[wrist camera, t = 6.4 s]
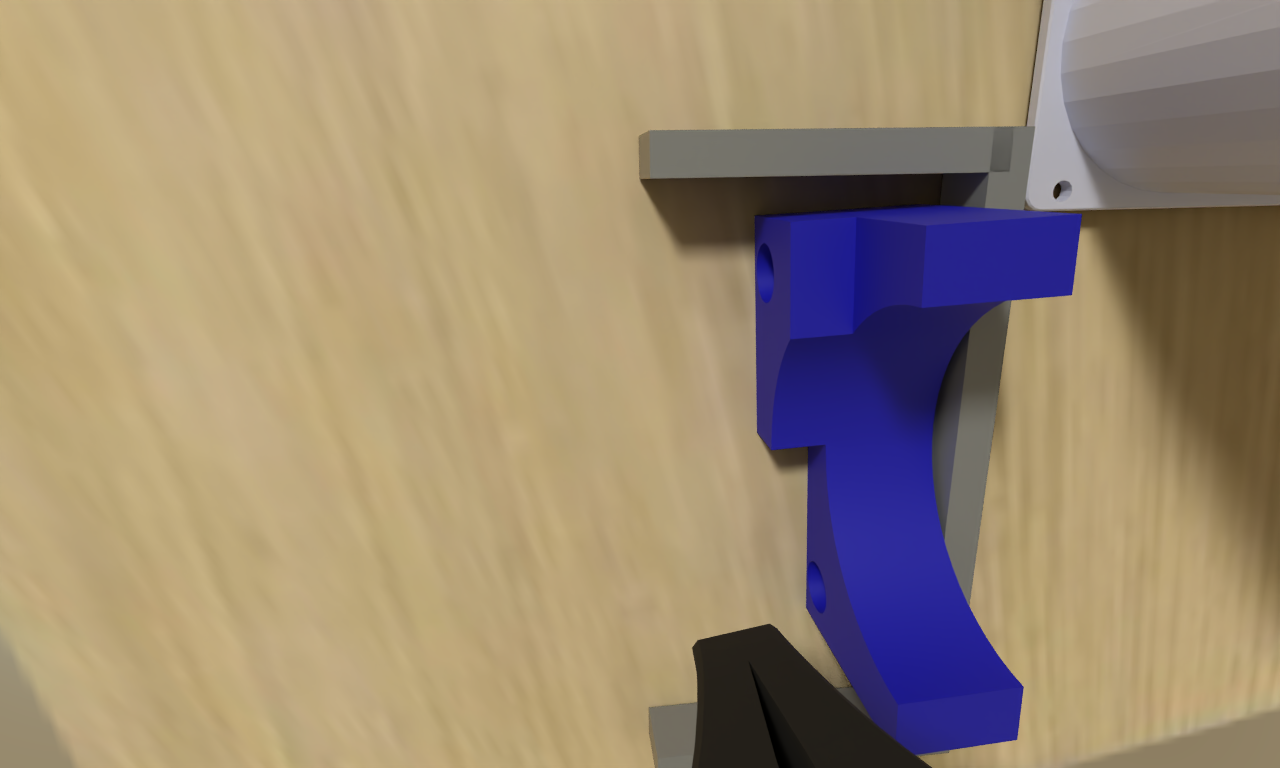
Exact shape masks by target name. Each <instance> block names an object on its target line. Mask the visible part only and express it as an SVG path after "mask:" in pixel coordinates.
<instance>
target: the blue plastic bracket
mask: <svg viewBox="0 0 1280 768" xmlns="http://www.w3.org/2000/svg"><path fill="white" fill-rule="evenodd" d="M1081 217H1082V214H1074V213H1058V212H1042V211H1026V210H1009V209H993V208H977V207H961V206H945V205H929V204H913V205H898V206H884V207H870V208H856V209H841V210H827V211H813V212H799V213H785V214H770V215H756V216H755V296H756V379H757V433H758V434H759V435H760V437H761V438H762V439H763V440H764V442H765V443H766V444H767V445H768V447H769V448H770V449H771V450H778V449H787V448H797V447H807V446H808V499H807V589H806V608H807V610H808V612H809V613H810V615H811V617H812V618H813V620H814V622H815V624H816V625H817V627H818V629H819V630H820V632H821V634H822V635H823V637H824V639H825V641H826V642H827V644H828V646H829V647H830V649H831V651H832V652H833V654H834V656H835V658H836V659H837V661H838V663H839V664H840V666H841V668H842V669H843V671H844V673H845V675H846V676H847V678H848V680H849V681H850V683H851V685H852V686H853V688H854V690H855V692H856V693H857V695H858V697H859V698H860V700H861V702H862V703H863V705H864V707H865V709H866V710H867V712H868V714H869V715H870V717H871V719H872V720H873V722H874V723H875V724H877V725H878V726H879V727H880V728H881V729H883V730H884V731H885V732H886V733H888V734H889V735H890V736H891V737H893V738H894V739H895V740H896V741H898V742H899V743H900V744H901V745H903V746H904V747H905V748H906V749H908V750H909V751H910V752H912V753H913V754H914V755H920V754H926V753H933V752H939V751H946V750H953V749H959V748H966V747H973V746H979V745H986V744H992V743H999V742H1006V741H1012V740H1017V736H1018V728H1019V720H1020V712H1021V704H1022V696H1023V688H1024V687H1023V686H1022V684H1021V683H1020V682H1019V681H1018V680H1017V679H1016V678H1015V676H1014V675H1013V674H1012V673H1011V672H1010V670H1009V669H1008V668H1007V666H1006V665H1005V664H1004V663H1003V661H1002V660H1001V659H1000V657H999V656H998V654H997V653H996V651H995V650H994V648H993V647H992V645H991V644H990V642H989V641H988V639H987V638H986V636H985V634H984V633H983V631H982V629H981V628H980V626H979V624H978V622H977V621H976V619H975V617H974V615H973V613H972V611H971V609H970V607H969V605H968V603H967V601H966V598H965V596H964V594H963V592H962V589H961V587H960V585H959V582H958V580H957V577H956V575H955V572H954V569H953V567H952V564H951V561H950V558H949V554H948V551H947V548H946V545H945V541H944V537H943V534H942V530H941V525H940V520H939V516H938V511H937V505H936V499H935V491H934V482H933V469H932V436H933V423H934V416H935V408H936V403H937V399H938V394H939V390H940V387H941V383H942V380H943V377H944V374H945V371H946V369H947V366H948V364H949V362H950V359H951V357H952V355H953V353H954V351H955V349H956V348H957V346H958V345H959V343H960V341H961V340H962V338H963V337H964V336H965V334H966V333H967V332H968V331H969V329H970V328H971V327H972V326H973V325H974V324H975V323H976V322H977V321H978V320H979V319H980V318H981V317H982V316H983V315H984V314H986V313H987V312H988V311H990V310H991V309H993V308H994V307H996V306H998V305H999V304H1001V303H1003V302H1005V301H1009V300H1021V299H1033V298H1044V297H1056V296H1068V295H1072V290H1073V282H1074V274H1075V266H1076V258H1077V250H1078V242H1079V234H1080V226H1081Z"/></svg>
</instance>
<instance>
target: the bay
mask: <svg viewBox="0 0 1280 768" xmlns="http://www.w3.org/2000/svg"><path fill="white" fill-rule="evenodd" d="M1034 132H1035V126H1018V127H926V128H834V129H742V130H650V131H648V132H646V133H644V134H642V135H640V136H639V175H640V179H663V178H717V177H771V176H825V175H879V174H934V173H943V180H942V189H941V199H940V205H945V206H961V207H977V208H993V209H1009V210H1024V205H1025V198H1026V190H1027V183H1028V176H1029V169H1030V161H1031V154H1032V147H1033V140H1034ZM1010 307H1011V300H1009V301H1005V302H1003V303H1001V304H999V305H998V306H996V307H994V308H993V309H991V310H990V311H988V312H987V313H986V314H984V315H983V316H982V317H981V318H980V319H979V320H978V321H977V322H976V323H975V324H974V325H973V326H972V327H971V328H970V329H969V331H968V332H967V333H966V334H965V336H964V337H963V338H962V340H961V341H960V343H959V345H958V346H957V348H956V349H955V351H954V353H953V355H952V357H951V359H950V362H949V364H948V366H947V369H946V371H945V374H944V377H943V380H942V383H941V387H940V390H939V394H938V399H937V403H936V408H935V416H934V423H933V436H932V469H933V482H934V491H935V499H936V505H937V511H938V516H939V520H940V525H941V530H942V534H943V537H944V541H945V545H946V548H947V551H948V554H949V558H950V561H951V564H952V567H953V569H954V572H955V575H956V577H957V580H958V582H959V585H960V587H961V589H962V592H963V594H964V596H965V598H966V601H967V603H968V605H969V604H970V597H971V590H972V582H973V575H974V568H975V561H976V553H977V546H978V539H979V532H980V524H981V517H982V510H983V503H984V495H985V488H986V481H987V474H988V466H989V459H990V452H991V445H992V437H993V430H994V423H995V416H996V408H997V401H998V394H999V386H1000V379H1001V372H1002V365H1003V357H1004V350H1005V343H1006V336H1007V328H1008V321H1009V314H1010ZM837 690H838V691H839V692H840V693H841V694H842V695H843V696H845V697H846V698H847V699H848V700H849V701H850V702H851V703H852V704H853V705H855V706H856V707H857V708H858V709H859V710H860V711H861V712H862V713H864V714H865V715H866V716H867V717H868V718H869V719H871V717H870V715H869V714H868V712H867V710H866V709H865V707H864V705H863V703H862V702H861V700H860V698H859V697H858V695H857V693H856V692H855V690H854V688H853V687H847V688H837ZM696 719H697V703H690V704H680V705H671V706H661V707H651V708H649V735H650V741H651V747H652V753H653V759H654V765H655V768H692V762H693V755H694V747H695V735H696ZM871 720H872V719H871ZM872 721H873V720H872ZM941 753H949V750H946V751H939V752H933V753H926V754H920V755H916V756H924V755H933V754H941Z"/></svg>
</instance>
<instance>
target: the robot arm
mask: <svg viewBox="0 0 1280 768" xmlns="http://www.w3.org/2000/svg"><path fill="white" fill-rule="evenodd" d="M1027 126H1035V132H1034V140H1033V147H1032V154H1031V161H1030V169H1029V176H1028V183H1027V190H1026V198H1025V205H1024V208H1025V209H1026V210H1031V211H1073V210H1112V209H1152V208H1192V207H1231V206H1271V205H1280V0H1044V2H1043V9H1042V17H1041V24H1040V32H1039V39H1038V47H1037V54H1036V61H1035V69H1034V76H1033V84H1032V91H1031V99H1030V106H1029V113H1028V121H1027ZM1058 182H1059V184H1060V185H1061V193H1060V195H1059V197H1058V198H1057V199H1055V198H1054V197H1053V190H1054V187H1055V185H1056V184H1057V183H1058ZM692 649H693V655H694V660H695V665H696V671H697V719H696V735H695V747H694V755H693V762H692V768H932V767H931V766H929V765H928V764H926V763H925V762H924V761H922V760H921V759H920V758H918V757H917V756H916V755H914V754H913V753H912V752H910V751H909V750H908V749H906V748H905V747H904V746H903V745H901V744H900V743H899V742H898V741H896V740H895V739H894V738H893V737H891V736H890V735H889V734H888V733H886V732H885V731H884V730H883V729H881V728H880V727H879V726H878V725H877V724H875V723H874V722H873V721H872V720H871V719H869V718H868V717H867V716H866V715H865V714H864V713H862V712H861V711H860V710H859V709H858V708H857V707H856V706H855V705H853V704H852V703H851V702H850V701H849V700H848V699H847V698H846V697H845V696H843V695H842V694H841V693H840V692H839V691H838V690H837V689H836V688H834V687H833V686H832V685H831V684H830V683H829V682H828V681H827V680H826V679H825V678H824V677H823V676H822V675H821V674H820V673H819V672H818V671H817V670H816V669H815V668H814V667H813V666H812V665H811V664H810V663H809V662H808V661H807V660H806V659H805V658H804V657H803V656H802V655H801V654H800V653H799V652H798V651H797V650H796V649H795V648H794V647H793V646H792V645H791V644H790V643H789V642H788V640H787V639H786V638H785V637H784V636H783V635H782V634H781V633H780V631H779V630H778V629H777V628H775V627H774V626H772V625H771V624H766V625H762V626H758V627H753V628H749V629H745V630H740V631H736V632H732V633H727V634H723V635H718V636H714V637H710V638H705V639H701V640H698V641H697V642H696V643H695V645H694V646H693V647H692Z"/></svg>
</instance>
